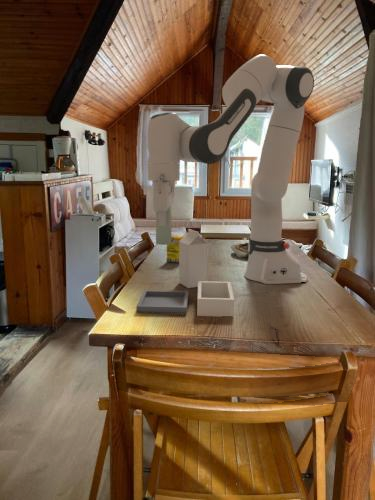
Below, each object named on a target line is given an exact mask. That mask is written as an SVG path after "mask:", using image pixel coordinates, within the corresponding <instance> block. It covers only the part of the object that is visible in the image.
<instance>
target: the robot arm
mask: <svg viewBox="0 0 375 500" xmlns="http://www.w3.org/2000/svg"><path fill="white" fill-rule="evenodd" d="M314 88H315V78H314V75H313V72H312V70H311V69H310V68H308V67H306V66H302V65H296V66H295V65H285V64H284V65H283V64H281V65H277V64H276V61H274V59H273V58H271V57H270V56H269V55H266V54H258V55H255V56H253V57H252V58H250V59H249V60H248V61H246V62H245V63H244V64H242V65H241V66H240V67H238V69H236V71H234V72H233V73H232V74H231V76H230V77H228V79H227V80H226V82H225V84H224V85H223V87H222V89H221V90H222V91H221V92H222V93H221V95H222V96H221V97H222V99H223V102H224V105H225V106H226V108H225V109H224V110H223V111H222V113H221V114H220V115H219V116H218V117H217V119H216V120H214V121H212V122H211V123H207V124H203V125H197V126H195V125H194V126H193V125H191V124H189V123H187V121H184V120H183V119H182V118H181V117H180V116H179V114H178V113H177V112H174V111H169V112H162V113H157V114H154V115H152V116H150V118H149V120H148V124H147V125H148V126H147V137H146V138H147V139H146V140H147V141H146V142H147V143H146V144H147V145H146V148H147V149H148V158H147V180H148V181H151V183H152V187H153V188H152V189H153V190H152V191H153V192H152V193H153V195H152V209H153V211H154V212H156V211H157V212H158V215H159V225H160V226H165V225H166V211H167V210H168V208H169V207H170V201H172V204H173V203H174V197H175V196H174V195H175V187H176V182H177V181H180V179H181V178H180V175H181V174H180V173H181V172H180V171H181V170H180V169H181V168H180V166H181V164H180V161H183V162H187V163H201V164H207V165H213V164H217V163H218V162H221V160H222V159H223V158H224V157H225V155H226V153H227V151H228V149H229V146H230V144H231V142H232V140H233V138H234V137H235V135H236V134H237V133H238V132H239V131H240V129H241V128H242V126H243V125H244V124H245V122H246V121H247V120H248V119H249V117H250V116H251V114H252V113H253V111H254V110H255V108H256V106H257V104H258V103H259V102H264V103H271V104H273V107H274V109H273V111H272V113H271V116H270V119H269V123H268V126H267V129H266V133H265V137H264V140H263V145H262V148H261V153H260V158H259V163H258V169H257V173H255V174H254V176H253V178H252V180H251V185H250V186H251V188H250V189H251V190H250V191H251V193H250V194H251V195H250V196H251V197H250V201H251V202H250V203H251V204H250V212H251V213H250V215H251V216H250V236H249V239H248V242H247V243H248V253H249V258H248V259H247V264H246V268H245V271H244V275H243V276H244V277H245V278H246V279H248V280H252V281H253V282H254V281H255V282H258V283H262V284H264V285H277V284H278V285H279V284H280V285H282V284H301V282H305V283H306V282H308V277H307V275H306V274H305V273H304V272H302V270H301V269H302V268H301V264H300V262H299V260H298V259H297V258H296V257H295V256H293V255H292V254H291V253H290V252H289V251H288V249H290V247H291V246H290V244H289V243H288V241H284V240H283V239H282V233H283V231H282V230H283V204H282V199H283V198H284V197H285V196H286V194H287V190H288V186H289V181H290V178H291V173H292V167H293V163H294V162H293V161H294V155H295V152H296V149H297V146H298V142H299V138H300V135H301V132H302V127H303V124H304V123H303V122H304V116H305V111H306V110H305V108H306V106H305V105H306V104H305V103H306V102H307V101H308V100H309V98H310V97H311V96H312V93H313V90H314Z"/></svg>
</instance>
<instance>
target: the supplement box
mask: <svg viewBox="0 0 375 500" xmlns="http://www.w3.org/2000/svg"><path fill="white" fill-rule="evenodd" d="M184 236H185V235H178V234H171V244H167V245H166V263H172V264H178V265H179V241H180V240H181V239H182V238H183V237H184Z"/></svg>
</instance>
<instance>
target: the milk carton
mask: <svg viewBox="0 0 375 500" xmlns="http://www.w3.org/2000/svg"><path fill="white" fill-rule="evenodd" d="M183 236H184V237H183V238H182V239H181V240H180V241H179V264H178V265H179V267H178V270H179V271H178V274H179V276H178V283H179V284H180V285H182V286H184V287H185V288H187V289H192V288H198V281H208V280H207V278H208V277H207V276H208V242H207V241H206V240H204V238H203V235H202V234H201V233H199V231H196V230H193V229H190V228H188V229H187V232H186V233H185V234H184V235H183Z"/></svg>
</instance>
